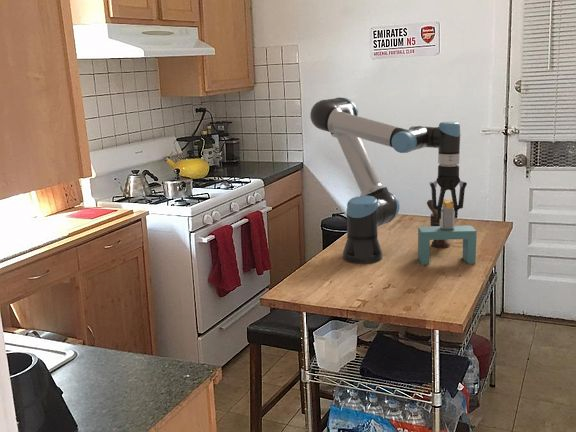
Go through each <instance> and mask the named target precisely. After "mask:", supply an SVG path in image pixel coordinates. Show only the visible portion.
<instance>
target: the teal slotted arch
mask: <svg viewBox="0 0 576 432" xmlns="http://www.w3.org/2000/svg"><path fill="white" fill-rule="evenodd" d="M417 231H418V233H417V260H418V262H419V264H420V265H421V266H423V265H424V266H425V265H427V266H428V265H430V248H431V247H430V245H431V241H434V240H449V241H450V240H462V259H463V260H464V261H465V262H466V264H467V265H471V264H472V265H474V264H476V262H477V261H476V260H477V234H478V233H477V230H476V229H475V228H474V227H473V226H472V225H454V228H452V230H446V231H442V228H441V227H440V226H431V225H430V226H418V228H417Z"/></svg>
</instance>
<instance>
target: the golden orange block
mask: <svg viewBox="0 0 576 432" xmlns="http://www.w3.org/2000/svg"><path fill="white" fill-rule="evenodd" d="M453 209H454V208H453V202H452V199H449V198H444V200H443V205H442V210H443V228H442V231H446V230H452V217H453Z"/></svg>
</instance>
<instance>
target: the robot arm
mask: <svg viewBox="0 0 576 432" xmlns="http://www.w3.org/2000/svg"><path fill="white" fill-rule="evenodd" d="M309 114H310V116H309V118H310V121H311V123H312V125H313V126H314V127H315V128H317V129H318V130H321V131H324V132H328V133H330V135H331V137H333V138H335V139H337V141H338V143H339V146H340V148H341V151H342V152H343V155H344V157H345V159H346V161H347V163H348V167H349V169H350V172H352V173H351V174H352V175H353V177H354V180H355V182H356V184H357V186H358V189H359V191H360V195H359V196H354V197H352V198H350V199H349V200H348V201H347V204H346V221H347V222H346V236H347V237H346V238H347V239H346V242H345V245H344V248H343V252H342V259H343V260H344V261H347V262H349V263H354V264H371V263H372V264H373V263H376V262H379V261H381V260H382V259H383V252H382V251H383V250H382V248H381V244H380V242H379V237H378V236H379V235H378V233H379V232H378V231H379V230H378V229H379V227H380V226H383V225H385V224H388V223H390V222H392V221H393V220H395V219H396V218H397V216H398V214H399V211H400V201H399V199H398V197H397V196H396V195H395V194H393V193H392V192H389V189H388V187H387V185H386V184H382V183H381V180H380V179H379V177H378V174H377V172H376V170H375V167H374V166H373V163H372V160H371V158H370V156H369V154H368V152H367V149H366V148H365V145H364V142H363V140H365V141H369V142H373V143H376V144H379V145H381V146H382V145H383V146H386V147H390V148H393V150H394V151H395V152H397V153H400V154H409V153H410V152H413V151H416V150H419V149H420V150H421V149H423V148H432V149H433V148H434V149H436V148H437V150H438V154H437V155H438V158H437V159H438V160H437V164H438V166H437V178H436V180H434V181H429V186H430V188H431V200H432V207H433V208H434V209H436V210H437V218H438V219H440V227H441V228H443V210H442V206H443V200H444V199H445V194H446V192H447V191H450V194H451V201H452V202H453V217H452V228H454V226H455V223H456V221H455V219H458V212H459V210H460V209H463V208H464V200H465V193H466V192H465V190H466V187H467V185H468V183H467V181H465V180H461V179H460V149H461V147H460V146H461V124H460V123H459V122H457V121H441V122H440V123H438V126H435V127H434V126H422V125H418V126H410V127H409V128H408V129H405V128H402V127H399V126H395V125H391V124H387V123H384V122H380V121H377V120H373V119H369V118H365V117H362V116H358V115H359V109H358V108H357V105H356V103H354V102H353V100H351V99H349V98H347V97H335V98H330V99H329V98H328V99H321V100H319V101H317V102H316V103H315V104H313V106H312V108H311V110H310V113H309ZM437 185H438V186H439V188H440V191H439V196H438V199H437V189H436V188H437V187H438V186H437ZM458 185H459V192H458V193H459V194H458V199H457V194H456V192H457V191H456V188H457V187H458ZM437 200H438V201H437Z"/></svg>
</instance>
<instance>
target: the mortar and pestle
mask: <svg viewBox="0 0 576 432" xmlns="http://www.w3.org/2000/svg"><path fill="white" fill-rule="evenodd" d="M426 205H427V207H428V209H429V210H430V211H431V213H430V220H429V221H430V226H440V219H438V218H437V210H436V209H434V208H433V207H432V199H428V200H427V202H426ZM431 245H432V246H433V247H435V248H438V249H439V248H448V247H450V246H451V241H450V239H449V240H432V242H431Z"/></svg>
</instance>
